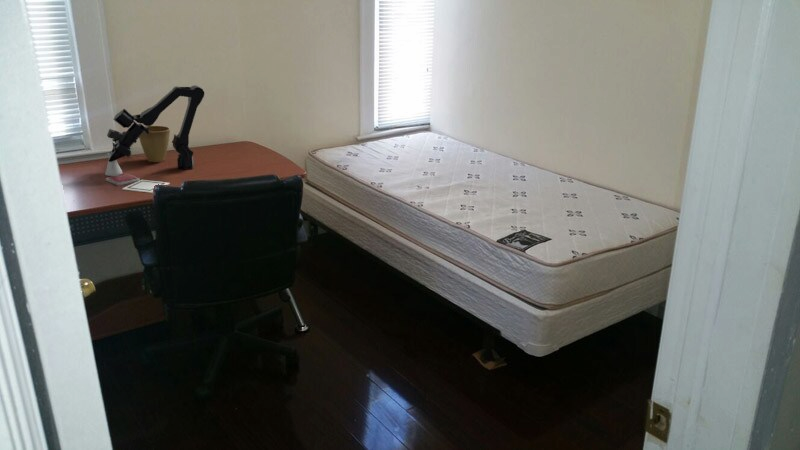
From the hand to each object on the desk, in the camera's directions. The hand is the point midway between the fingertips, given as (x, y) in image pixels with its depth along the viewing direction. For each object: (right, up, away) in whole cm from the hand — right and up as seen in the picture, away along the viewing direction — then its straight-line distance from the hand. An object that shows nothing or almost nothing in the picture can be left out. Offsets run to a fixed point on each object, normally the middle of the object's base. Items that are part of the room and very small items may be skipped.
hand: (108, 160), depth 288 cm
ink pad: (+9, -10, -6) cm, 14 cm away
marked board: (+22, -12, -12) cm, 28 cm away
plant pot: (+11, +3, +27) cm, 30 cm away
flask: (+1, -6, +3) cm, 7 cm away
